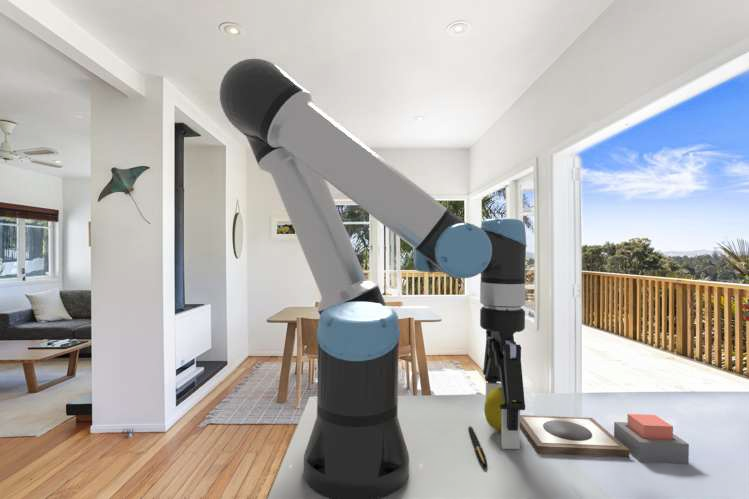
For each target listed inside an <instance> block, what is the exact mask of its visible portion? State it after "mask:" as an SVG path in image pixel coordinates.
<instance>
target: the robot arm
mask: <svg viewBox="0 0 749 499" xmlns="http://www.w3.org/2000/svg"><path fill="white" fill-rule="evenodd" d="M219 87H220V88H219V101H220V102H219V103H220V105H221V109H222V112H224V115H225V117H226V119H227V120H228V122H230V123H231V125H232V126H233V127H234V128H235V129H236V130H238V131H239V132H240V133H241V134H243V135H244V136H245V137H246V139H247V141H248V144H249V145H250V148H251V150H252V153H253V156H254V158H255V160H256V163H257V165H258V167H259V169H260V170H261V171H264V172H267V173H269V174H270V175H271V176H272V179H273V181H274V184H275V186H276V187H275V188H276V189H277V191H278V194H279V196H280V198H281V200H282V204H283V206H284V209H285V211H286V214H287V216H288V218H289V221H290V223H291V226H292V228H293V230H294V232H295V235H296V238H297V240H298V242H299V245H300V247H301V249H302V252H303V254H304V258H305V260H306V262H307V265H308V266H309V269H310V272H311V274H312V276H313V279H314V283H315V284H316V287H317V288H318V290H319V294H320V296H321V297H320V302H319V304H318V307H317V311H318V314H319V318H318V326H317V329H316V341H317V376H316V377H317V379H316V380H317V381H316V382H317V387H316V388H317V389H316V390H317V391H316V398H317V399H316V401H317V402H316V418H315V421H314V424H313V427H312V429H311V433H310V436H309V439H308V441H307V445H306V448H305V451H304V454H303V478H304V479H305V480H304V481H305V482H306V483H307V485H308V486H309V487H310V488H312V490H314V491H316V492H317V493H319V494H321V495H323V496H326V497H329V498H332V499H374V498H376V499H379V498H378V497H380V498H382V496H383V497H386V496H388V495H390V494H392V493H394V492H396V491H397V490H399V489H400V488H401V487H403V485H404V484H405V483H406V482H407V480H408V478H409V474H410V453H409V451H408V448H407V444H406V440H405V437H404V433H403V431H402V430H403V429H402V427H401V424H400V419H399V416H398V412H399V411H398V409H399V408H398V405H399V404H398V400H399V397H398V396H399V390H398V389H399V348H400V346H399V339H400V338H401V328H400V324H399V316H398V314H397V312H396V311H395V310H394V309H393V308H391V307H390V306H388V305H387V304H386V302H385V299H384V296H383V294H382V292H381V290H380V289H381V288H380V287H379V284H378V283H376V282H375V281H374V282H373V281H371V280H369V279H368V278H366V274H365V273H364V270H363V269H362V266H361V263H360V261H359V258H358V256H357V252H355V248H354V246H353V244H352V242H351V239H350V236H349V234H348V231H347V229H346V226H345V225H344V222H343V220H342V216H341V215H340V212H339V210H338V208H337V205H336V203H335V200H334V197H333V195H332V193H331V191H330V188H329V185H328V183H329V184H330V185H331V186H333V187H334V188H336V190H338V191H339V192H340V193H341V194H343V195H344V196H346V197H347V198H348V199H350V200H351V201H352V202H353V203H355V204H356V205H358V206H359V208H361V209H362V210H363V211H365V212H366V213H367V214H369V215H370V216H371V217H373V218H374V219H376V220H377V221H378V222H379V223H381V224H382V225H383V226H384V227H386V228H387V229H388V230H390V231H391V232H392V233H393V234H395V235H397V237H399V238H400V239H401V240H403V241H404V242H406V244H407V245H409V246H411V247H412V249H413V266H414V269H415V270H416V271H417V272H421V273H430V274H434V273H443V274H446V275H447V276H449V277H450V278H454V279H459V280H462V279H469V278H474V277H476V276H478V275H480V285H479V286H480V287H479V290H480V291H479V292H480V293H479V294H480V295H479V300H480V301H479V303H480V304H481V305H483V306H481V308H480V309H479V310H480V312H479V314H480V318H479V321H480V322H479V326H480V327H481V328H482V329H483V330H485V334H486V336H485V338H486V339H485V340H486V341H485V350H484V359H483V369H482V373H483V375H484V380H485V399H486V398H487V395H488V394H489V393H490V392H491V391H492V390H494V389H498V388H499V387H502V395H503V402H504V404H501V405H500V406H499V407H500V409H502V421H501V433H500V436H501V437H500V440H501V441H500V443H501V444H500V447H501V448H502V450H503V449H504V450H507V449H508V450H520V447H521V446H520V444H521V443H520V441H521V440H520V439H521V438H520V435H521V432H520V431H521V429H520V415H521V411H525V410H526V402H525V392H524V391H525V390H524V379H523V369H522V347H521V344H517V342H516V341H515V337H514V334H515V333H520V332H523V331H524V330H525V329H526V310H524V308H522V307H524V306H525V304H526V294H528V292H529V289H528V288H526V262H527V260H526V258H527V257H526V256H527V233H526V232H527V231H526V225H525V223H524V222H523V220H521V219H518V218H489V219H484V220H483V221H481V224H480V225H481V226H477V225H475V224H472V223H470V222H465V221H464V220H462V219H461V218H460V217H459V216H457V215H456V214H455V213H453V211H450V210H449V209H447V207H445V205H443V204H441V203H440V202H439V201H438V200H436V199H435V198H434V197H432V196H431V195H430V194H429V193H427V192H426V191H425V190H423V189H422V188H421V187H420V186H419V185H417V184H416V183H415V182H414V181H412V180H410V178H408V177H407V176H406V175H404V173H403V172H401V171H399V170H398V169H397V168H395V167H394V166H393V165H392V164H390V163H389V162H388V161H387V160H385V159H384V158H383V157H381V156H380V155H379V154H377V152H375V151H374V150H372V149H371V148H370V147H368V146H367V145H365V144H364V143H363V142H362V141H360V139H358V138H356V137H355V136H354V135H353V134H351V133H350V132H349V131H348V130H346V129H345V128H344V127H343V126H341V125H340V124H339V123H337V122H336V120H335V121H334V119H332V118H331V117H329V115H327V114H326V113H324V112H323V111H322V110H321V109H319V108H318V107H316V105H314V104H313V97H312V94H311V93H310V92H309V91H308V90H307V89H305V88H304V87H302V86H301V85H300V84H299V83H298V82H296V81H295V80H294V79H293V78H292V77H291V76H289V75H288V73H286V72H285V71H283V69H281V68H280V67H279V66H278V65H276V64H274V63H273V62H271V61H268V60H265V59H262V58H261V59H260V58H249V59H248V58H247V59H244V60H241V61H239V62H236V63H235V64H233V65H232V66H231V67H230V68H228V70H227V72H226V73H225V74H224V76H223V78H222V79H221V82H220V86H219ZM327 182H328V183H327ZM513 401H516V402H513ZM484 416H485V415H484ZM485 418H486V416H485Z"/></svg>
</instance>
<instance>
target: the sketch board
mask: <svg viewBox="0 0 749 499" xmlns="http://www.w3.org/2000/svg"><path fill="white" fill-rule="evenodd" d="M520 431H521V432H522V433H523V435H524V436H525V438H526V439H527V440H528V442H529V443H530V445H531V446H532V448H533V449H534V451H535V452H536V453H537V454H539V455H560V456H580V457H581V456H583V457H605V458H606V457H607V458H608V457H609V458H626V459H627V458H628V459H629V458H630V453H629V449H628V448H626V447H625V446H624V445H623V444H622V443H621V442H619V441H618V440H617V439H616V438H615V437H614V435H613V434H611V433H610V432H609V431H608V430H606V428H605V427H603V426H602V425H601V424H600V423H599V422H598V421H596V419H594V418H593V417H583V416H582V417H579V416H576V417H575V416H551V415H547V416H546V415H525V414H524V415H522V414H520Z"/></svg>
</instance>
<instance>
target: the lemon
mask: <svg viewBox="0 0 749 499" xmlns="http://www.w3.org/2000/svg"><path fill="white" fill-rule="evenodd" d="M513 402H516V401H513ZM501 404H504V402H503V395H502V387H499V388H498V389H494V390H492V391H491V392H490V393H489V394H488V395H487V398H486V397H485V401H484V406H483V407H484V408H483V409H484V416H486V417H485V419H486V421H487V423H488V424H489V425H490V427H492V428H493V429H494V430H496V432H497V433H500V434H501V421H502V409H500V407H499V406H500V405H501Z"/></svg>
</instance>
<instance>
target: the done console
mask: <svg viewBox="0 0 749 499" xmlns="http://www.w3.org/2000/svg"><path fill="white" fill-rule="evenodd" d="M627 422H628V421H626V422H624V421H623V422H622V421H614V422H613V423H614V424H613V436H614V437H615V438H616V439H617V440H618V441H619V442H621V443H622V444H623V445H624V446H625V447H626V448H628V449H629V455H631V456H632V457H633V458H635V459H636V460H637V461H638V462H639V463H658V464H659V463H660V464H661V463H665V464H685V465H686V464H687V465H688V464H689V463H690V462H689V459H690V458H689V454H690V448H689V447H690V446H689V445H690V444H689V443H688V442H686V440H684V439H683V438H680V437H679V436H677V435H676V434H674V433H673V440H656V439H642V438H641V437H640V436H638V435H637V434H636V433H634V432H633V431H632V430H630V429H629V428H628V427H627Z"/></svg>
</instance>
